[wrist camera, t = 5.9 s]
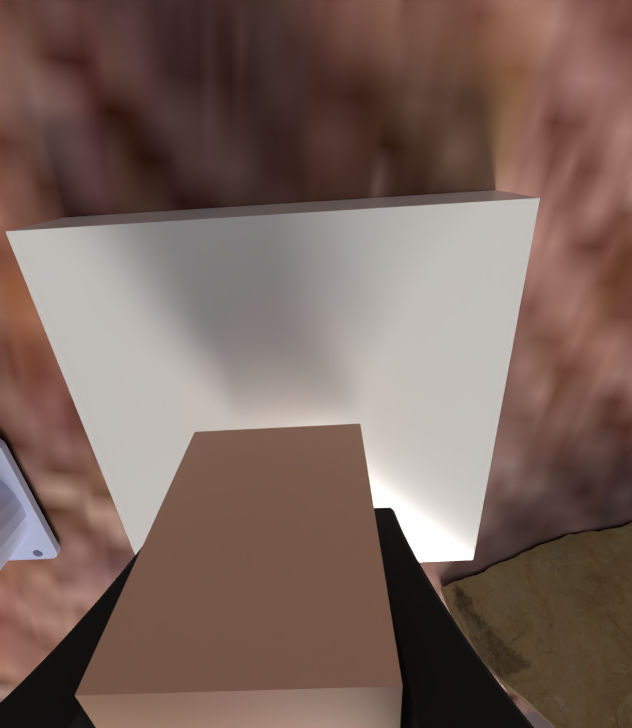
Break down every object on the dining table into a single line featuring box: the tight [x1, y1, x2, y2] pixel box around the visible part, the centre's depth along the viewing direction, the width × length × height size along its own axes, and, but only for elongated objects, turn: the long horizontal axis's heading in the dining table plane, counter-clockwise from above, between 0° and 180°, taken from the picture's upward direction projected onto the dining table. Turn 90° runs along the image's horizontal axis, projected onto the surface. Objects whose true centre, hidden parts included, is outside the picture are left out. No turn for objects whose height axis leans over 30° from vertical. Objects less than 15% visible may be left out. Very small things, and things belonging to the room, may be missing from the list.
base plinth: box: [6, 190, 540, 562], centre depth 16 cm, size 15×15×3 cm
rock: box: [441, 521, 632, 728], centre depth 20 cm, size 11×9×10 cm
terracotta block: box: [75, 424, 403, 728], centre depth 9 cm, size 4×4×6 cm
